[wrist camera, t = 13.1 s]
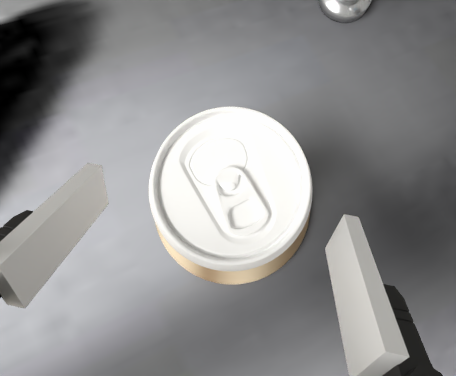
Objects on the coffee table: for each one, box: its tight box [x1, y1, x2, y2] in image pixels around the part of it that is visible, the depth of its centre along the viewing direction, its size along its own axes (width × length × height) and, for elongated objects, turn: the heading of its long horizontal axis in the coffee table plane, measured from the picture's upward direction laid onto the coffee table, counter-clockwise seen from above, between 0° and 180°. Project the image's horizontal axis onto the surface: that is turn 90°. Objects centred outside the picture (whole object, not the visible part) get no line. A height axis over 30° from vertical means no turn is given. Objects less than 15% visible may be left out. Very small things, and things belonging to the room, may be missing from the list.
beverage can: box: [149, 107, 313, 271], centre depth 18 cm, size 8×8×12 cm
